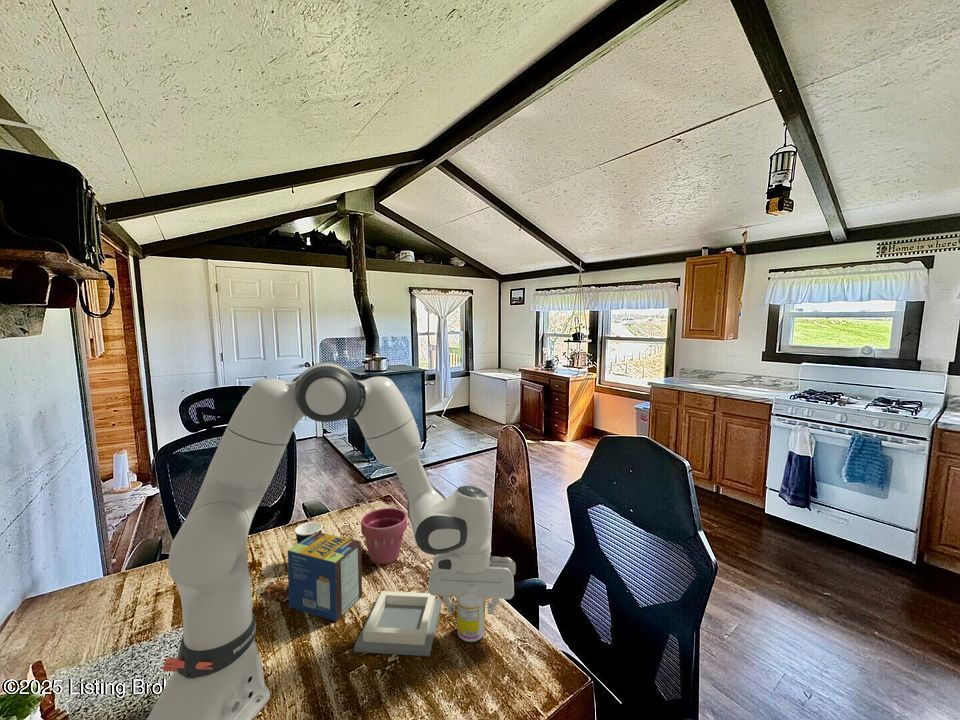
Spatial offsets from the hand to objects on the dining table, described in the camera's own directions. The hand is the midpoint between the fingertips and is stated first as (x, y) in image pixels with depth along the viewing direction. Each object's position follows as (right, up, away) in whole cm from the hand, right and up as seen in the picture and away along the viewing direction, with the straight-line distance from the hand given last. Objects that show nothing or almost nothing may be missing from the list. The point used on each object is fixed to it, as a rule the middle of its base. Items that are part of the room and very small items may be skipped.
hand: (471, 611), depth 94 cm
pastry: (-53, -4, +14) cm, 55 cm away
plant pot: (-28, -3, +32) cm, 43 cm away
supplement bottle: (0, -5, 0) cm, 5 cm away
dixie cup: (-50, -3, +28) cm, 58 cm away
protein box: (-38, -4, +11) cm, 40 cm away
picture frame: (-17, -5, +2) cm, 18 cm away
